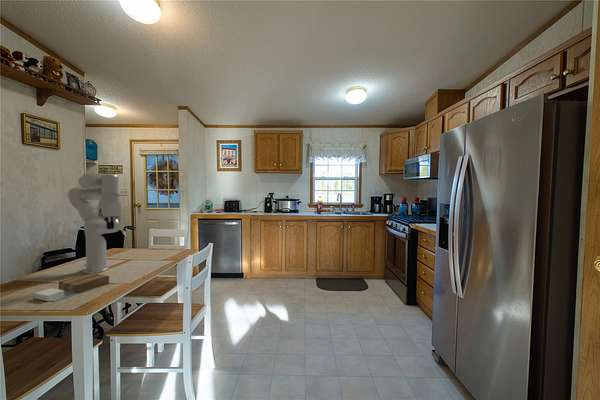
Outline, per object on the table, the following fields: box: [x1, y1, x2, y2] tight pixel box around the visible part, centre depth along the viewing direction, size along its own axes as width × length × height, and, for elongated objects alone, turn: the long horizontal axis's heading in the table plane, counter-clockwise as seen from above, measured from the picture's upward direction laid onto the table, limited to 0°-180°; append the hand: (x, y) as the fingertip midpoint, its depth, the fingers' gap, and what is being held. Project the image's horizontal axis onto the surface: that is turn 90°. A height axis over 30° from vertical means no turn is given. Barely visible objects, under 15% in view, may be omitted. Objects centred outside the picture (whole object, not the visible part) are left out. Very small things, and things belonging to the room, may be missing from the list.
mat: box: [33, 288, 79, 303], centre depth 114 cm, size 15×9×1 cm, turn 71°
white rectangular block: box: [33, 287, 64, 302], centre depth 111 cm, size 9×6×2 cm, turn 72°
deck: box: [58, 273, 110, 295], centre depth 125 cm, size 14×14×4 cm
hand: (110, 228), depth 139 cm, fingers closed
